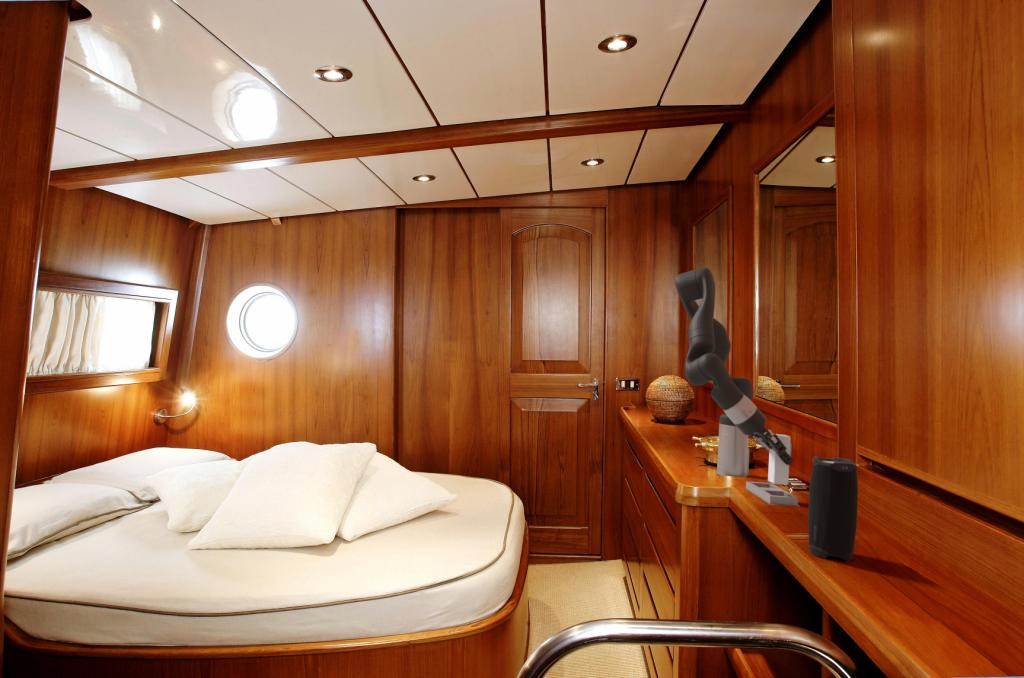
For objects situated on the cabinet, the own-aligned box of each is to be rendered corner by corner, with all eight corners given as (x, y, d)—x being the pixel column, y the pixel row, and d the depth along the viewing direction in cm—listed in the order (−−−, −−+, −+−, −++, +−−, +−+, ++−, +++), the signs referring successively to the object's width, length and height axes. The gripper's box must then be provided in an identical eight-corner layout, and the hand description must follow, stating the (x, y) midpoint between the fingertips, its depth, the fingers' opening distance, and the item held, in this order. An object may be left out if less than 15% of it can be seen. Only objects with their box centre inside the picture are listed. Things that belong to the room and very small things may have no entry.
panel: (770, 492, 164) (771, 482, 164) (800, 510, 146) (800, 498, 146) (743, 490, 164) (744, 480, 164) (769, 508, 146) (770, 496, 146)
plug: (784, 481, 152) (786, 434, 153) (790, 484, 148) (793, 436, 149) (767, 480, 152) (770, 433, 153) (773, 483, 149) (776, 435, 149)
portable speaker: (839, 548, 117) (844, 456, 117) (864, 565, 107) (869, 465, 108) (798, 545, 117) (802, 453, 118) (819, 561, 108) (824, 462, 108)
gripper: (765, 407, 144) (810, 457, 143) (744, 402, 158) (784, 447, 158) (744, 426, 144) (788, 476, 144) (724, 420, 158) (765, 465, 158)
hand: (786, 461), depth 151 cm, fingers closed on plug, 3 cm apart
